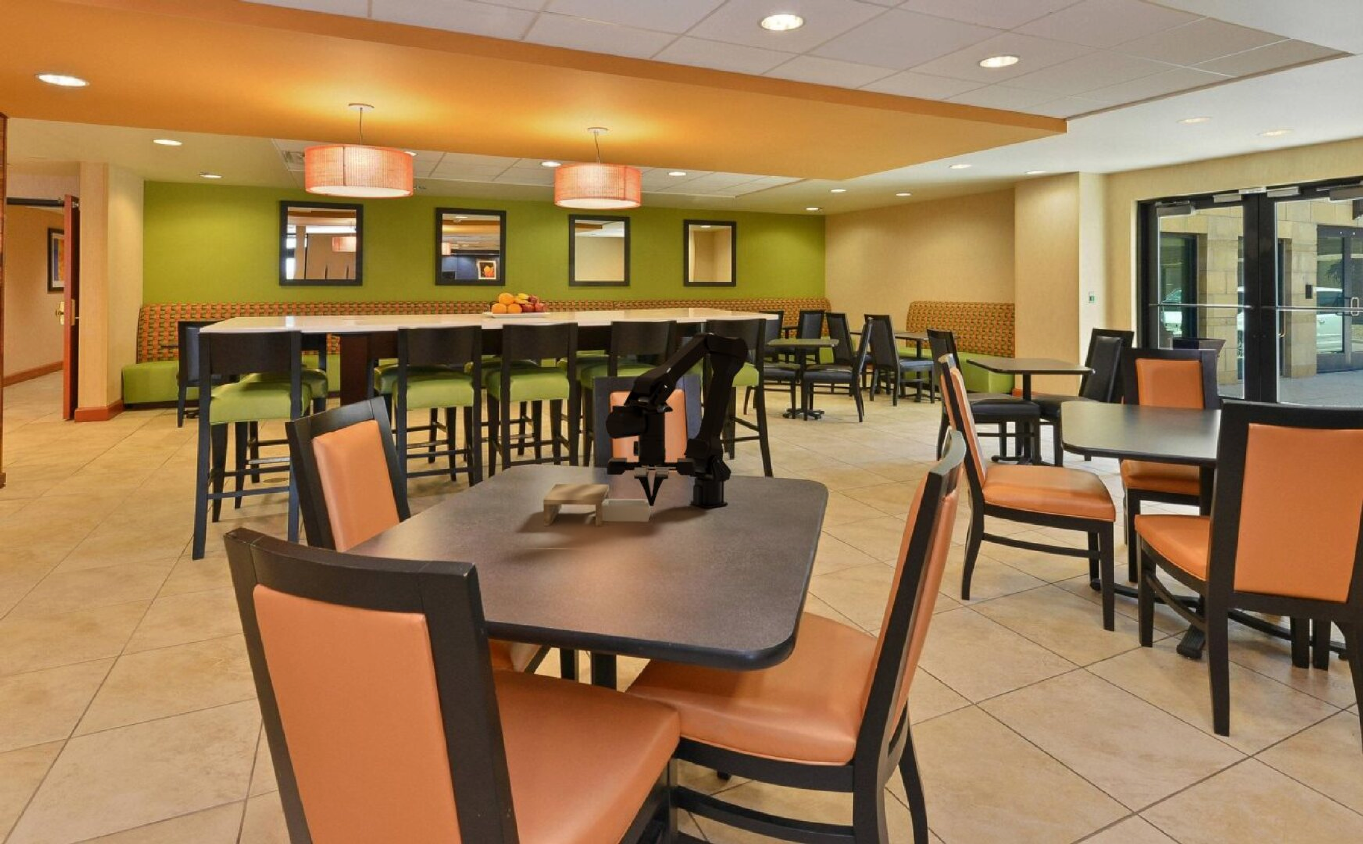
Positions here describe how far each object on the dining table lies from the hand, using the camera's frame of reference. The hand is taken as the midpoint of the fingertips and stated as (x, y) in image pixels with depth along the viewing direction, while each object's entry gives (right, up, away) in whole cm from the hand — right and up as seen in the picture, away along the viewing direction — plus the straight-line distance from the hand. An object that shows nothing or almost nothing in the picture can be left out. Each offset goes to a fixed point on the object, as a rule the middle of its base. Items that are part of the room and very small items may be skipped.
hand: (651, 505), depth 167 cm
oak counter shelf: (-16, -3, +1) cm, 16 cm away
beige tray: (-6, -3, +1) cm, 6 cm away
